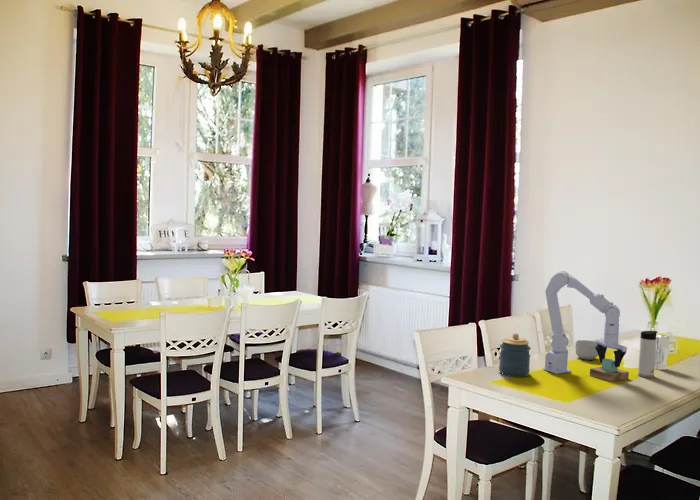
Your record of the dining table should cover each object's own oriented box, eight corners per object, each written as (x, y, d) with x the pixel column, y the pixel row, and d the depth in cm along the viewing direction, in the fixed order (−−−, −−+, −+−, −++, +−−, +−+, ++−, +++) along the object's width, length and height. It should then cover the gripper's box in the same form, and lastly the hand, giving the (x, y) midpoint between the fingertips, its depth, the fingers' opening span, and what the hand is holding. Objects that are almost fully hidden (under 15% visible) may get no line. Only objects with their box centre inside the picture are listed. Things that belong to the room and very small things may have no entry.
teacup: (601, 361, 303) (602, 345, 302) (578, 360, 303) (579, 344, 302) (591, 354, 317) (592, 338, 316) (569, 354, 317) (570, 338, 316)
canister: (492, 372, 277) (494, 332, 275) (508, 368, 286) (510, 329, 284) (519, 379, 267) (521, 337, 266) (535, 374, 277) (537, 334, 275)
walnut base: (611, 381, 267) (611, 374, 267) (589, 375, 277) (590, 368, 277) (628, 378, 273) (628, 372, 273) (606, 372, 282) (606, 365, 282)
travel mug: (656, 378, 274) (659, 332, 273) (639, 377, 276) (642, 331, 274) (652, 374, 281) (655, 330, 279) (636, 373, 282) (639, 329, 280)
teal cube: (610, 372, 272) (611, 361, 271) (601, 369, 275) (602, 359, 275) (617, 370, 274) (617, 360, 273) (608, 368, 278) (609, 358, 277)
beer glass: (664, 366, 295) (666, 335, 294) (670, 370, 289) (672, 338, 287) (648, 366, 296) (650, 334, 295) (654, 370, 289) (656, 337, 288)
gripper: (632, 336, 269) (630, 367, 270) (603, 329, 282) (601, 360, 283) (621, 337, 266) (619, 369, 267) (592, 331, 278) (590, 361, 279)
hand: (609, 364), depth 274 cm, fingers open, 7 cm apart
